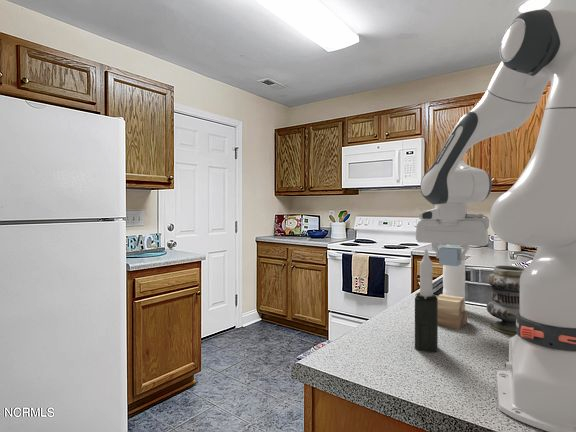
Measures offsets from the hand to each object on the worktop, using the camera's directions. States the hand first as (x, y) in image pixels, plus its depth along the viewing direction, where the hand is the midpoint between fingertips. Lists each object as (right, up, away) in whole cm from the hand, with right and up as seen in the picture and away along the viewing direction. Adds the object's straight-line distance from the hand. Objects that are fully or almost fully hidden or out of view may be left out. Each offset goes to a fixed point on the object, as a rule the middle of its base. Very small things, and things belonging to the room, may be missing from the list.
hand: (450, 259), depth 106 cm
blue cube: (0, -2, 0) cm, 2 cm away
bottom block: (0, -20, +1) cm, 20 cm away
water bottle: (+8, -20, +14) cm, 25 cm away
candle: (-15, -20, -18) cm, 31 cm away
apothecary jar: (+15, -20, -6) cm, 25 cm away
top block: (0, -16, 0) cm, 16 cm away
